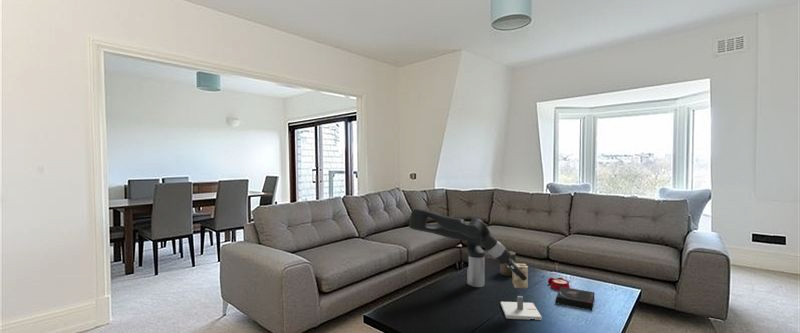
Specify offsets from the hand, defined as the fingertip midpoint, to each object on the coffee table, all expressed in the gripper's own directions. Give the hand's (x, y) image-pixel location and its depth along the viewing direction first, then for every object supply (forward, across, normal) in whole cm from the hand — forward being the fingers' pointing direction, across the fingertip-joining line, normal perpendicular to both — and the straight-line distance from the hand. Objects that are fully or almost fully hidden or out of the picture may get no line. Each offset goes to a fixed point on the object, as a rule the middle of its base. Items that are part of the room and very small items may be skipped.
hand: (523, 277), depth 178 cm
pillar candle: (+14, -58, -10) cm, 60 cm away
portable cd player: (+34, -17, +9) cm, 39 cm away
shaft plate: (+11, 0, -13) cm, 17 cm away
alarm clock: (+32, -38, +8) cm, 50 cm away
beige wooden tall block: (+2, 0, -4) cm, 5 cm away
